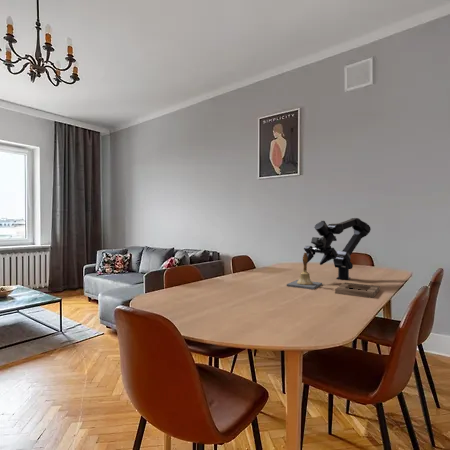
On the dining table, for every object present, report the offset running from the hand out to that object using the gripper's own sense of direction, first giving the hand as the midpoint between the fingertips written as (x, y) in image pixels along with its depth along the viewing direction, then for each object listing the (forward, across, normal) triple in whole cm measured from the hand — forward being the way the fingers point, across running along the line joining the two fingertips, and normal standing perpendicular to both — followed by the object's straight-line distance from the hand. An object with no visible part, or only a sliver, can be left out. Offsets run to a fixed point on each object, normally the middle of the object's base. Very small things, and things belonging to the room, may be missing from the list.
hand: (313, 263), depth 166 cm
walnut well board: (+6, +24, +9) cm, 27 cm away
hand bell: (+12, 0, +2) cm, 12 cm away
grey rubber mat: (+12, 0, +3) cm, 13 cm away
